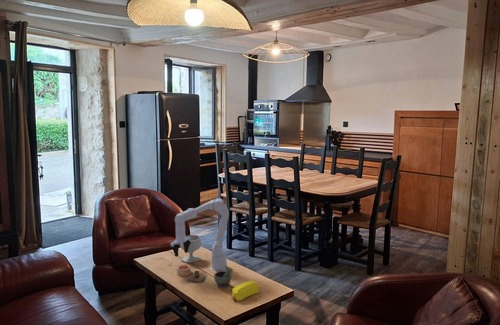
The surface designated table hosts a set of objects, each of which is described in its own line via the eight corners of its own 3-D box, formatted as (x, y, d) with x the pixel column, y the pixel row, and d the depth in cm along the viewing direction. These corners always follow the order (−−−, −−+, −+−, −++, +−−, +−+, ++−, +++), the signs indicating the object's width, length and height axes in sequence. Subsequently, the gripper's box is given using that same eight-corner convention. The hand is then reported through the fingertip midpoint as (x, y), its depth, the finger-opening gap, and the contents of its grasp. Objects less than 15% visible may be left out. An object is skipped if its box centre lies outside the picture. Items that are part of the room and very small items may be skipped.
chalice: (199, 263, 244) (199, 241, 242) (178, 263, 244) (177, 241, 242) (203, 255, 257) (202, 234, 256) (183, 255, 258) (182, 234, 256)
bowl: (192, 270, 233) (192, 264, 232) (188, 276, 225) (188, 270, 224) (179, 270, 234) (178, 264, 233) (175, 276, 225) (174, 269, 225)
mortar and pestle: (210, 286, 212) (210, 266, 210) (222, 280, 219) (221, 261, 217) (225, 292, 205) (225, 271, 203) (237, 286, 212) (236, 265, 210)
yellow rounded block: (262, 292, 204) (253, 288, 210) (262, 281, 204) (253, 276, 209) (237, 304, 193) (227, 298, 198) (237, 291, 192) (227, 286, 197)
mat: (207, 276, 225) (207, 275, 225) (203, 284, 215) (203, 283, 215) (190, 276, 226) (190, 275, 226) (186, 283, 216) (186, 282, 216)
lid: (205, 276, 224) (205, 268, 223) (202, 282, 215) (202, 275, 215) (191, 275, 225) (191, 268, 224) (187, 282, 216) (187, 274, 216)
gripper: (185, 229, 240) (185, 249, 242) (166, 234, 229) (167, 256, 231) (192, 231, 236) (193, 252, 237) (174, 237, 224) (175, 259, 226)
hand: (181, 254), depth 234 cm, fingers open, 7 cm apart
